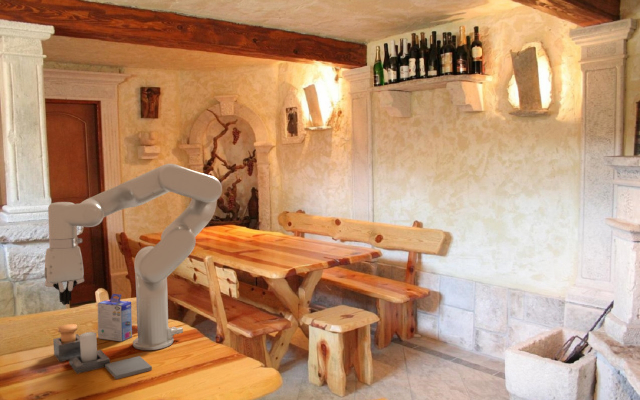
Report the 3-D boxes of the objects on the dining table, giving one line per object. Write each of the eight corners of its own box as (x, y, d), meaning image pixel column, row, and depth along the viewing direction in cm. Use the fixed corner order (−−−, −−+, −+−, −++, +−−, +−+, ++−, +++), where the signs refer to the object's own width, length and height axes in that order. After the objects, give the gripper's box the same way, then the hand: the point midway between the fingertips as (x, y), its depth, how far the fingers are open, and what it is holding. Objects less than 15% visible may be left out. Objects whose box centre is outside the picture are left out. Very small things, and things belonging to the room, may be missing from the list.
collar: (100, 356, 163) (100, 349, 163) (109, 365, 156) (109, 359, 156) (69, 363, 158) (68, 356, 158) (77, 373, 151) (76, 366, 150)
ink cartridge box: (133, 336, 180) (132, 294, 179) (122, 342, 175) (121, 298, 174) (109, 333, 183) (107, 292, 182) (97, 339, 178) (95, 296, 177)
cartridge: (95, 360, 160) (93, 331, 159) (99, 365, 157) (98, 335, 156) (79, 364, 157) (78, 334, 156) (83, 369, 154) (82, 338, 153)
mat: (139, 359, 161) (139, 355, 161) (151, 370, 153) (151, 366, 153) (105, 367, 155) (105, 364, 155) (115, 379, 147) (115, 375, 147)
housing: (78, 349, 169) (77, 334, 168) (84, 356, 163) (83, 340, 163) (54, 354, 164) (53, 338, 164) (59, 361, 159) (58, 345, 158)
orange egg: (75, 340, 167) (74, 322, 167) (80, 345, 163) (79, 327, 162) (57, 344, 164) (56, 326, 163) (61, 349, 160) (60, 330, 159)
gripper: (86, 239, 168) (88, 296, 170) (33, 244, 159) (35, 304, 160) (93, 242, 162) (95, 302, 164) (38, 248, 153) (40, 311, 155)
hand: (65, 303), depth 162 cm, fingers closed
